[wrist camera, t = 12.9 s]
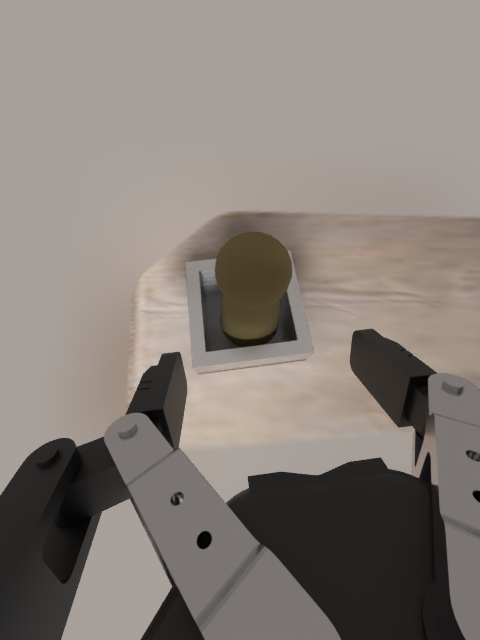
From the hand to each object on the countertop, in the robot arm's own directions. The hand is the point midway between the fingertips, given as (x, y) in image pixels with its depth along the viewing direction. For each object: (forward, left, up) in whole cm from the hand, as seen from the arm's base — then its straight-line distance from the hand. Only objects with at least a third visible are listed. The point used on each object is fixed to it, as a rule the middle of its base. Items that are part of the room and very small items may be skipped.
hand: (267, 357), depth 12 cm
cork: (0, -7, -13) cm, 14 cm away
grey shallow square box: (0, -7, -13) cm, 15 cm away
